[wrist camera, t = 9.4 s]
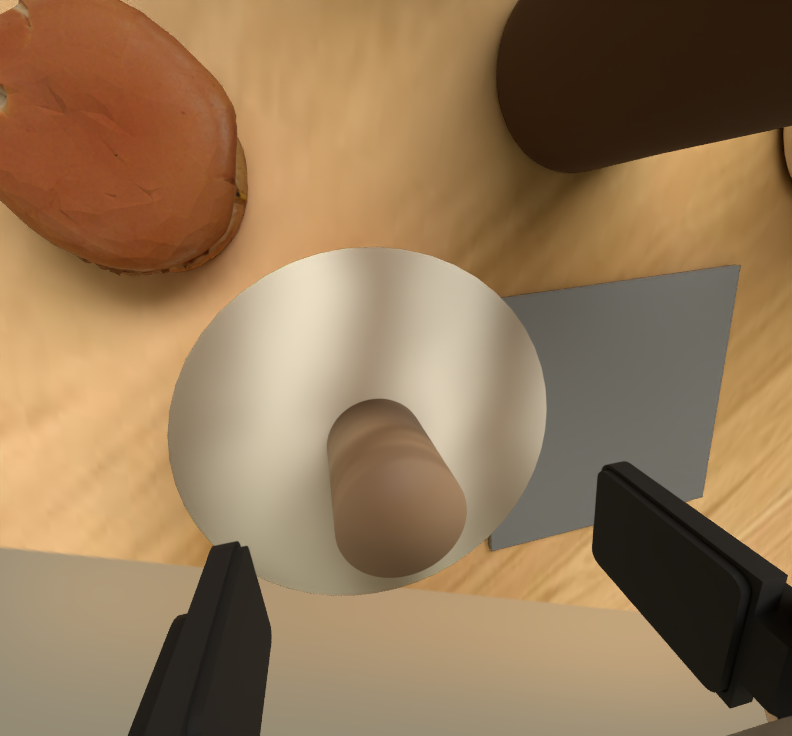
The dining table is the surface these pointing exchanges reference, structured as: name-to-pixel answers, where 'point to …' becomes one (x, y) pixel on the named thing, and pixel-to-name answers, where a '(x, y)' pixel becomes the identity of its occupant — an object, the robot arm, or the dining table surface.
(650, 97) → the olive oil
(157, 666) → the robot arm
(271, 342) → the lid
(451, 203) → the dining table surface
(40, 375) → the dining table surface
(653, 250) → the dining table surface
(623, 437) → the mat
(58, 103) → the burger
